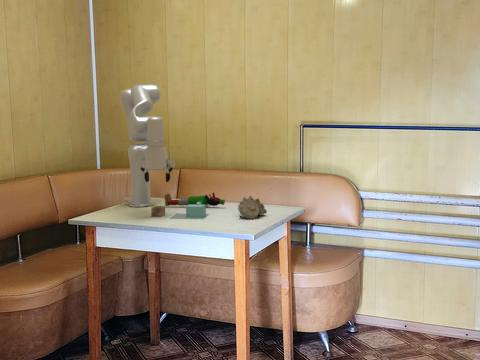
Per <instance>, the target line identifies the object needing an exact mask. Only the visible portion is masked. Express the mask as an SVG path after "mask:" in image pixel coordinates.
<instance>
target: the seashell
mask: <svg viewBox="0 0 480 360" xmlns="http://www.w3.org/2000/svg"><path fill="white" fill-rule="evenodd" d="M237 208H238V212H239V214H240V215H241V216H242V217H243V218H245V219H247V220H254V219H256V218H257V217H258V215H264V214H267V213H268V211H267V209H266V208H265V205H264V204H263V203H261V201H260V199H259V198H253V197H252V196H251V195H249V196H248V197H247V198H246V197H245V196H243V198H242V200H241V201H239V204H238V205H237Z"/></svg>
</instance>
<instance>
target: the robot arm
mask: <svg viewBox="0 0 480 360" xmlns="http://www.w3.org/2000/svg"><path fill="white" fill-rule="evenodd" d="M161 96H162V93H161V90H160V87H159V86H158V85H156V84H151V83H150V84H136V85H134V86H132V87H131V88H126V89H122V91H121V93H120V95H119V97H120V99H119V101H120V105H121V108H122V110H123V112H124V114H125V118H126V124H127V134H128V138H129V140H130V141H131V142H133V143H135V144H131V145H130V146H129V147H128V148H127V154H128V156H127V157H128V162H129V168H130V186H131V189H130V190H131V196H130V197H129V196H125V197H124V201H125V202H129V203H128V206H129V207H133V208H144V207H145V208H146V207H153V206H155V205H154V204H155V203H154V201H152V200H151V183H150V179H151V178H150V177H151V176H150V170H151V171H152V170H157V171H158V170H164V171H165V172H166V173H165V183H168V182H170V180H171V172H173V170H174V168H175V166H176V162H173V161H172V160H170V159H169V158H168V151H167V148H166V146H165V130H164V129H165V128H164V125H165V124H164V119H163V117H161V116H154V115H153V116H145V115H147V114H150V112H152V110H153V108H154V104H157V103H158V102H159V101H160V100H161ZM169 165H170V168H169Z"/></svg>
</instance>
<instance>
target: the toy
mask: <svg viewBox="0 0 480 360" xmlns="http://www.w3.org/2000/svg"><path fill="white" fill-rule="evenodd" d="M170 194H171V193H170V192H169V193H165V194H164V206H165V207H169V206H183V207H184V206H185V207H186V206H187V205H189V204H191V205H206V208H208V206H209V207H210V206H212V207H215V206H218V205H222V206H224V205H225V204H226V203H225V202H226V199H221V198H219V197H216V196H215V192H212V194H208V195H207V194H205V195H197V196H188V197H187V198H180V199H172V197H171V195H170ZM181 213H186V208H184V209H182V210H181Z"/></svg>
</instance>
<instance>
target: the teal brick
mask: <svg viewBox="0 0 480 360" xmlns="http://www.w3.org/2000/svg"><path fill="white" fill-rule="evenodd" d="M206 208H207V207H206V205H191V204H189V205H187V206H186V205H185V209H186V212H185V214H186V217H199V218H203V217H205V216H206V214H207V209H206Z"/></svg>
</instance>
